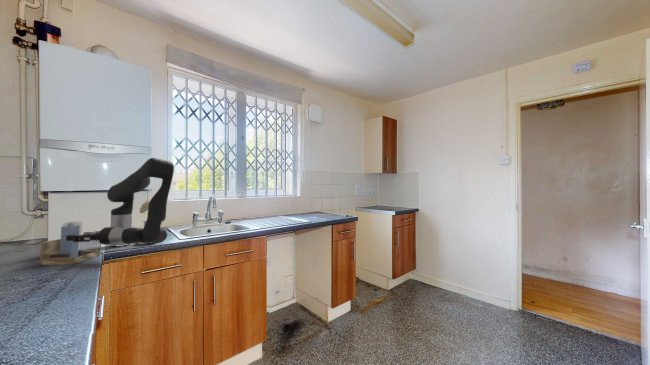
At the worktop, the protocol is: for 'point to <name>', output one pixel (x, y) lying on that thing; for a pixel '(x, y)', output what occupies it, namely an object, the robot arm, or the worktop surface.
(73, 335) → the worktop surface
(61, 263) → the box
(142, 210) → the flower in vase
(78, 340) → the worktop surface
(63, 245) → the blue square bottle
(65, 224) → the drinking glass
